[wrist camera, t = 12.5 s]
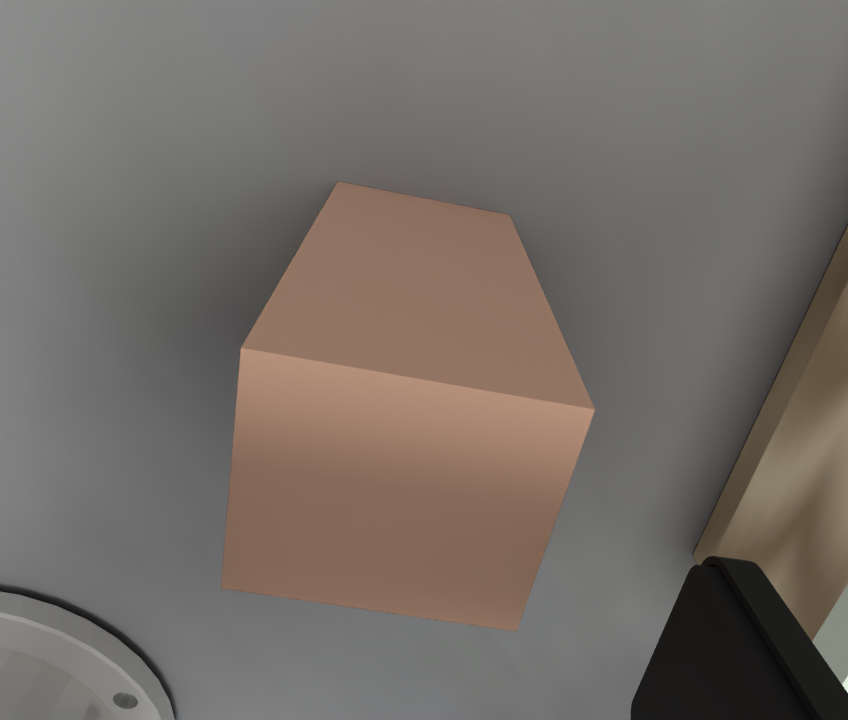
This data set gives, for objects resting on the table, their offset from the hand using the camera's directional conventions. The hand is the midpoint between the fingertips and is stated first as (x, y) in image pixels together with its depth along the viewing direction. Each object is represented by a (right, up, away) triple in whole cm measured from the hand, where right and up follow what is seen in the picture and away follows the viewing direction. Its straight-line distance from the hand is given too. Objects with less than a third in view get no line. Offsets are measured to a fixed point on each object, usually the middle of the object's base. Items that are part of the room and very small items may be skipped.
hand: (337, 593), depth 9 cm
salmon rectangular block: (+1, +6, +9) cm, 11 cm away
